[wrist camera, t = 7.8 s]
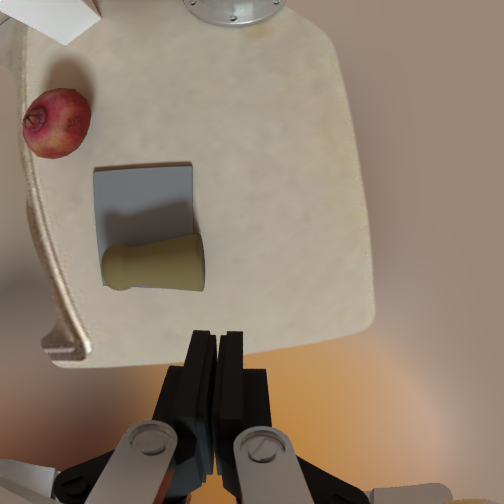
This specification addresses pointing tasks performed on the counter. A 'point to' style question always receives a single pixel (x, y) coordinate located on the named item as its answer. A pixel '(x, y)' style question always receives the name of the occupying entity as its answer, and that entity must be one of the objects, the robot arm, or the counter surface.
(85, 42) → the counter surface
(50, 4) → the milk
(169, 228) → the grey mat
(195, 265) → the olive brown rounded cylinder
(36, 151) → the fruit
